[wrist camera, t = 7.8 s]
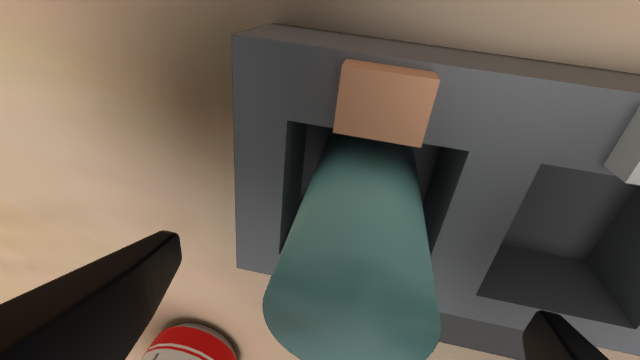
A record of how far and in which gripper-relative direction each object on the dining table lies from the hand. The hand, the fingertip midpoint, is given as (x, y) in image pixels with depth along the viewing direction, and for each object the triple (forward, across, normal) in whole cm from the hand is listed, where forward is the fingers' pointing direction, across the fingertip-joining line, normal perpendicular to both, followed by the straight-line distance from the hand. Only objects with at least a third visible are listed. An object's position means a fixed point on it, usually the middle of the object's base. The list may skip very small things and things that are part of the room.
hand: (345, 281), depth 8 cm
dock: (+8, -4, 0) cm, 9 cm away
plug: (+7, 0, 0) cm, 7 cm away
